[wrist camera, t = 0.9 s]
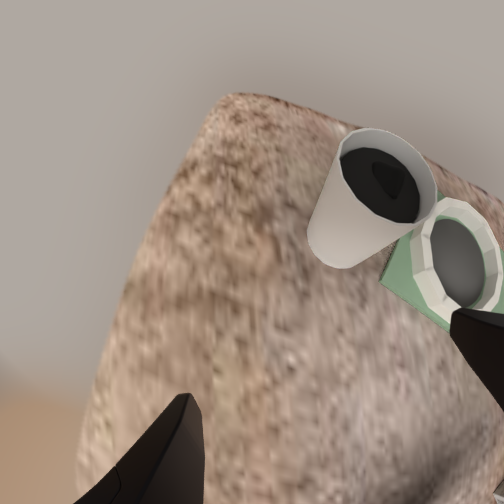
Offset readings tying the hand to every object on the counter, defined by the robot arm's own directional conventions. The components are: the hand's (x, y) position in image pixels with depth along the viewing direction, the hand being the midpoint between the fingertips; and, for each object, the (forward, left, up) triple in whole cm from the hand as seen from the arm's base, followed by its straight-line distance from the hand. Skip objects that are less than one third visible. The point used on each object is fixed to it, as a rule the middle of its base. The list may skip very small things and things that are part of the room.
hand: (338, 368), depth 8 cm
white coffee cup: (+1, -11, -13) cm, 17 cm away
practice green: (-15, -16, -13) cm, 25 cm away
